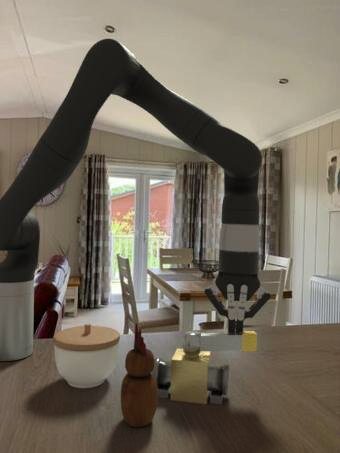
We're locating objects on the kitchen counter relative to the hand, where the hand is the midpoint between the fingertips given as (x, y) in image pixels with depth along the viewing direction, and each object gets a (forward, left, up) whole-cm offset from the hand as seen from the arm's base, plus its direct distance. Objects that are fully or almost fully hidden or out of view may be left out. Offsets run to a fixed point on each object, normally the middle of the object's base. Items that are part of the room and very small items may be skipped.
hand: (235, 338), depth 73 cm
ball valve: (-8, -5, -10) cm, 13 cm away
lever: (-3, -3, -2) cm, 5 cm away
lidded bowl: (-28, -4, -10) cm, 30 cm away
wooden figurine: (-14, -16, -10) cm, 24 cm away
